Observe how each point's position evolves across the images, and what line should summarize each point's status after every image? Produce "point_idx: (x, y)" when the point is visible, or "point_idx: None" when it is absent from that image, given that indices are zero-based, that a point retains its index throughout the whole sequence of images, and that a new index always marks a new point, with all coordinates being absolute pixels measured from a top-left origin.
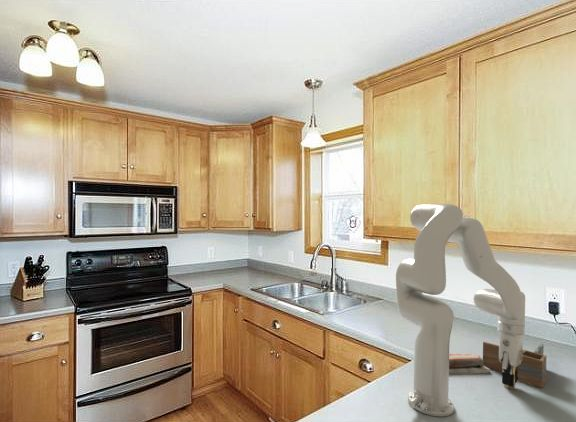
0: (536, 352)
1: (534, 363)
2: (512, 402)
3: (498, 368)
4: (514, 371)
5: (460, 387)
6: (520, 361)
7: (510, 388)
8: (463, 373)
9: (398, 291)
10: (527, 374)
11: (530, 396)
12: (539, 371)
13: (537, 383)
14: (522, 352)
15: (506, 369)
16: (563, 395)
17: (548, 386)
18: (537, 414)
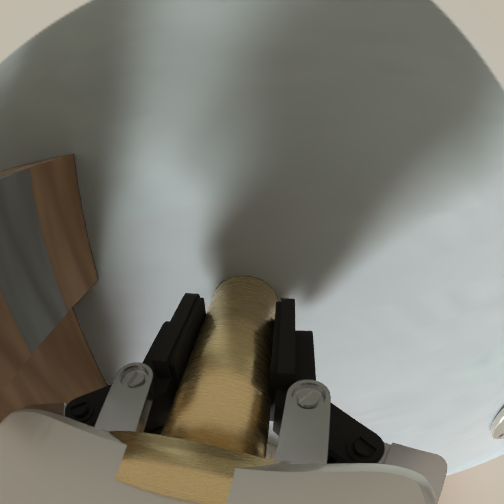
0: None
1: None
2: (451, 248)
3: (88, 369)
4: (231, 386)
5: (414, 418)
6: (179, 491)
7: (275, 298)
8: (267, 443)
9: None
10: (47, 262)
11: (269, 171)
12: None
13: (61, 184)
14: (3, 500)
15: (434, 454)
16: (69, 44)
17: (27, 141)
18: (495, 114)
